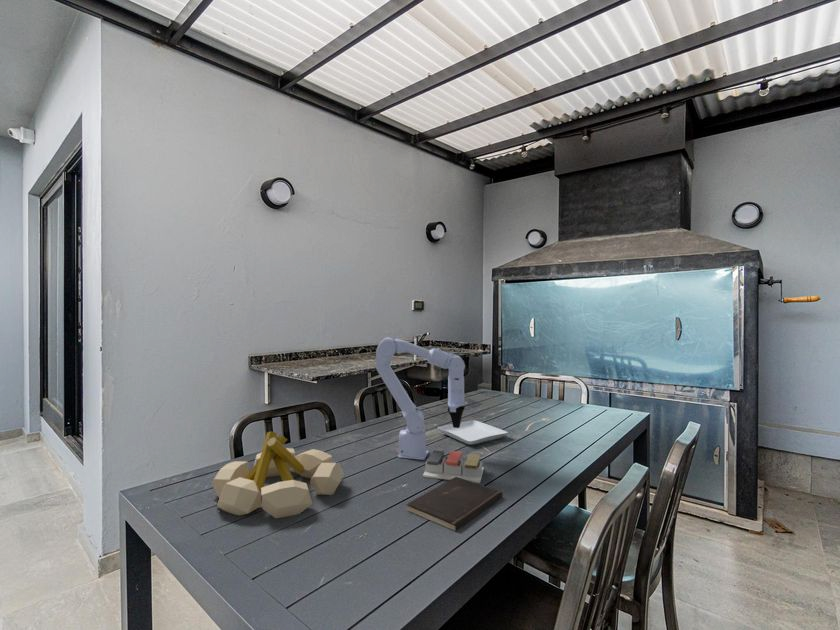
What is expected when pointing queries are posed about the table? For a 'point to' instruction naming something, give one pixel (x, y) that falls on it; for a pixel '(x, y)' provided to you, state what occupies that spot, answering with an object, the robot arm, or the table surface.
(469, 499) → the hardcover book
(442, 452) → the grey rectangular block
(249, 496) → the campfire
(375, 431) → the table surface
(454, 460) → the red plug
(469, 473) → the panel
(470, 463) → the brass plug
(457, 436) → the salad plate
